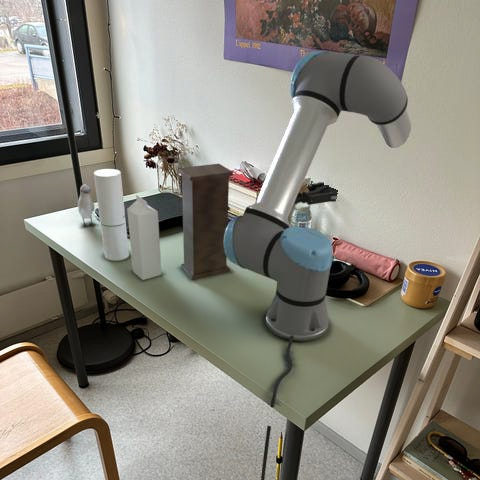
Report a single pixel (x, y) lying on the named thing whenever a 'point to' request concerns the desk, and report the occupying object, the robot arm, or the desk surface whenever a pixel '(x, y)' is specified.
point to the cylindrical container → (112, 213)
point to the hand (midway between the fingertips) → (277, 197)
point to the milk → (144, 239)
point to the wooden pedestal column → (205, 219)
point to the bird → (85, 203)
